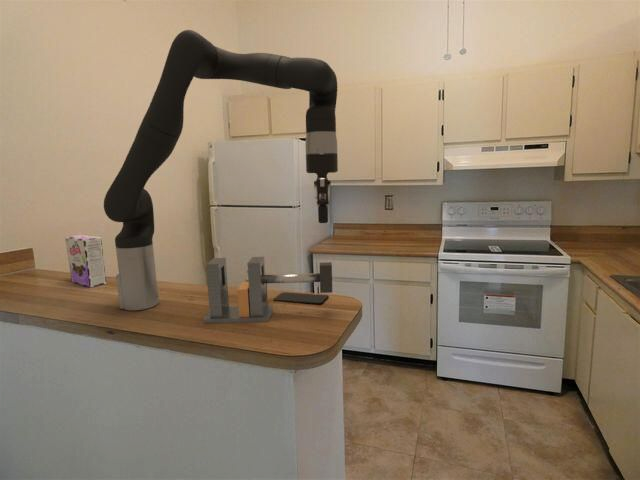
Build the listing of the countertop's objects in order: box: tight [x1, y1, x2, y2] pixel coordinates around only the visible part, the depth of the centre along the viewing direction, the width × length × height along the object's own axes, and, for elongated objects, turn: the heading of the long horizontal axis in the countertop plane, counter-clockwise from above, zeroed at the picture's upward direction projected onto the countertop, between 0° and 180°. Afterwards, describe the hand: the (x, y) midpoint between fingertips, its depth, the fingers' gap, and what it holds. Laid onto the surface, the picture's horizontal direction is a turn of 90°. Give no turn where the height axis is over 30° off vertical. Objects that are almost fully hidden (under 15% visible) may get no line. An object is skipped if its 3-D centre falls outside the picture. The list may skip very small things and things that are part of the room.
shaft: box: [262, 261, 333, 294], centre depth 96 cm, size 18×3×7 cm, turn 90°
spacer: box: [236, 281, 251, 317], centre depth 97 cm, size 2×7×7 cm, turn 0°
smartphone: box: [273, 292, 329, 306], centre depth 110 cm, size 7×1×15 cm
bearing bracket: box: [202, 256, 274, 324], centre depth 97 cm, size 16×9×14 cm, turn 90°
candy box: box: [64, 234, 107, 288], centre depth 132 cm, size 14×6×16 cm, turn 55°
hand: (323, 220), depth 94 cm, fingers open, 8 cm apart
